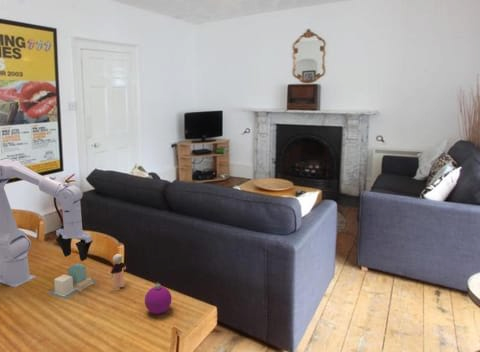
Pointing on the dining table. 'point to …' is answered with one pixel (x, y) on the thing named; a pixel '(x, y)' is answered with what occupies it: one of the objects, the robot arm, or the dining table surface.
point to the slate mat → (70, 292)
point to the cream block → (63, 284)
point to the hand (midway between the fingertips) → (75, 257)
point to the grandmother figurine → (118, 272)
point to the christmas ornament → (158, 299)
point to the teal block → (77, 272)
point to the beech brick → (82, 283)
